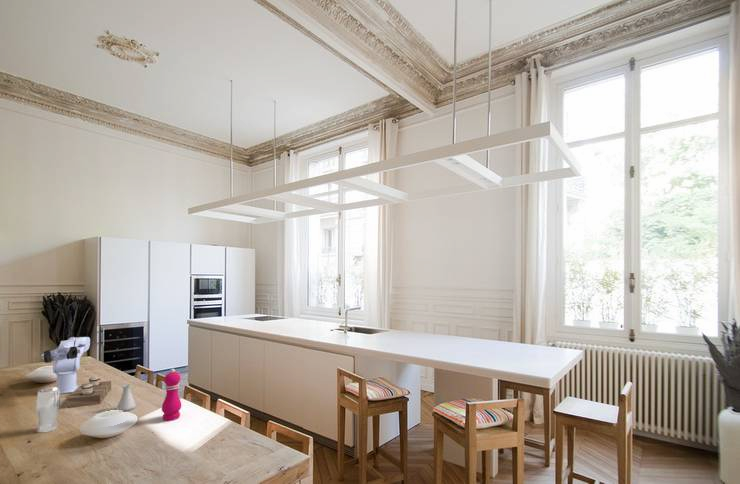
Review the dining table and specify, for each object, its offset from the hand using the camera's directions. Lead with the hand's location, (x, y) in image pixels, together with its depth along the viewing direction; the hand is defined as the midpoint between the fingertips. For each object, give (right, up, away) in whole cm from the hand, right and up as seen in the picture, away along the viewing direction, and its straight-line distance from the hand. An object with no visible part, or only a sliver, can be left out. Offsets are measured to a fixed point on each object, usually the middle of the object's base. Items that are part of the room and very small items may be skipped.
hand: (57, 358), depth 172 cm
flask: (+35, -20, -6) cm, 41 cm away
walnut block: (+10, -21, +7) cm, 24 cm away
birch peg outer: (+12, -17, +2) cm, 21 cm away
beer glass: (+18, -19, -26) cm, 37 cm away
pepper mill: (+60, -20, -16) cm, 65 cm away
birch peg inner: (+8, -18, +13) cm, 23 cm away
